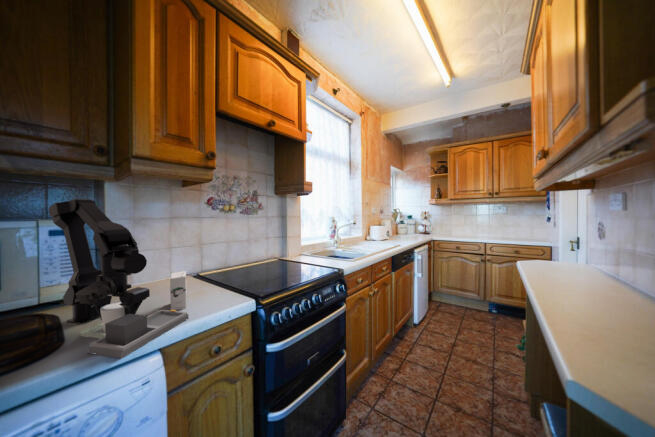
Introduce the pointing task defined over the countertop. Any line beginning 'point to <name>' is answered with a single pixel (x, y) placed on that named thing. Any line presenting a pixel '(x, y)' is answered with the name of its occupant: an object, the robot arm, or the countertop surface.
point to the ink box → (178, 290)
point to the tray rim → (90, 332)
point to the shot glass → (111, 312)
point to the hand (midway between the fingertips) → (116, 321)
